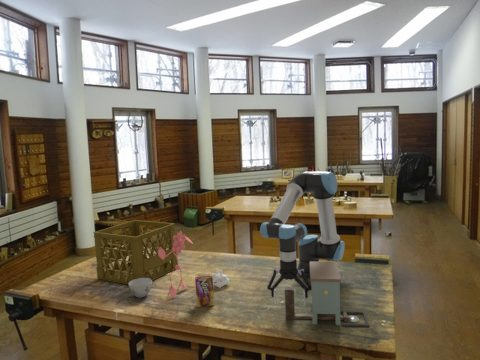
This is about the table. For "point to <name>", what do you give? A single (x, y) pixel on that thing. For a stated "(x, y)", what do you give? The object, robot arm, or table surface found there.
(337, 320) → the cabinet
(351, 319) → the steel disc
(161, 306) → the table surface
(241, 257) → the table surface
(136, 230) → the milk crate
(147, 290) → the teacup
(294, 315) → the pusher stick
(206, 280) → the candy box
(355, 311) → the rubber bay
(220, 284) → the crumpled paper ball
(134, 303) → the table surface
